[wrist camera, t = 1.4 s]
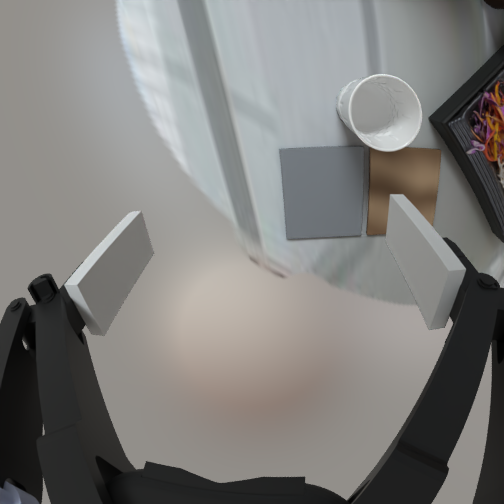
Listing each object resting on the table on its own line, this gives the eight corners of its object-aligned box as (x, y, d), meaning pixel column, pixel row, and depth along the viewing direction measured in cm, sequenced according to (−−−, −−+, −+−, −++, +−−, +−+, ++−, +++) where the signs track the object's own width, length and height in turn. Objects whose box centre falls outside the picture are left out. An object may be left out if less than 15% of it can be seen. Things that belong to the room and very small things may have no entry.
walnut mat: (369, 146, 35) (370, 147, 34) (439, 149, 33) (441, 150, 33) (366, 232, 42) (367, 234, 41) (429, 230, 40) (431, 232, 40)
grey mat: (279, 149, 36) (279, 149, 36) (362, 146, 35) (363, 147, 34) (286, 236, 43) (286, 238, 43) (360, 233, 42) (360, 235, 41)
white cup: (349, 65, 29) (373, 58, 21) (399, 99, 31) (434, 106, 22) (320, 114, 33) (333, 123, 25) (370, 146, 35) (397, 166, 26)
